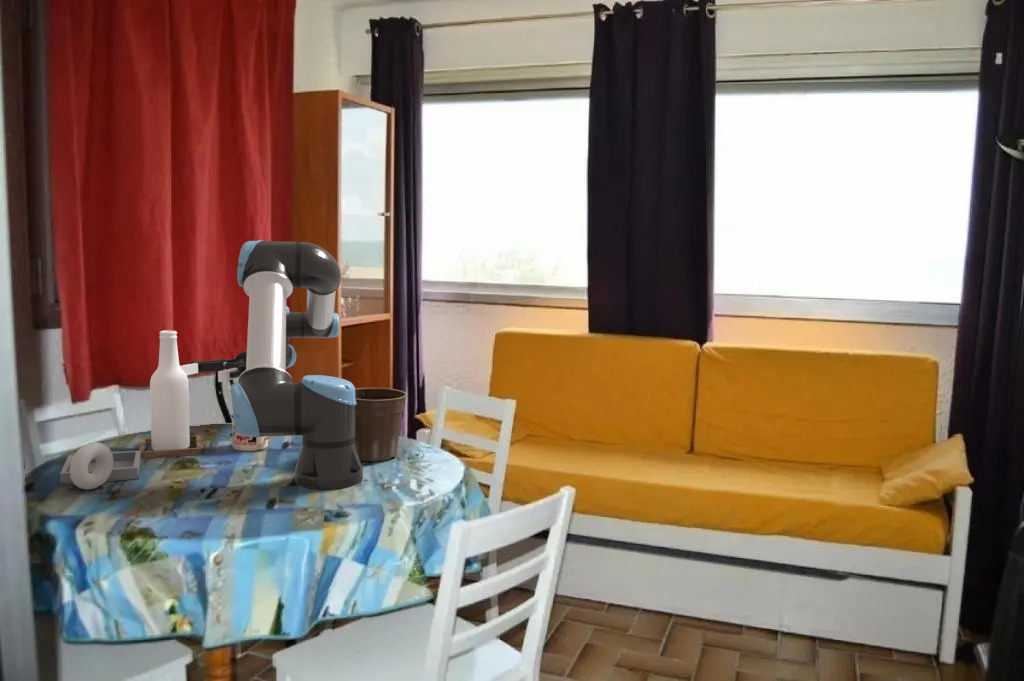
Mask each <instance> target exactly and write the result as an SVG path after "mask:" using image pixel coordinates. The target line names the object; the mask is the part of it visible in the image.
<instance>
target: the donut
mask: <svg viewBox="0 0 1024 681" xmlns="http://www.w3.org/2000/svg"><path fill="white" fill-rule="evenodd" d="M111 452H112V451H111V449H110V448H109V446H107V445H106V444H104V443H101V442H98V441H97V442H95V441H94V442H89V443H87V444H84V445H82V446H80V447H79V449H77V451H76V452H74V454H73V455H74V456H73V458H72V460H71V463H70V470H69V472H70V478H71V479H72V481H73V483H74V484H73V485H75V486H77V487H78V488H79V489H83V490H86V491H89V490H95V489H97V488H99V487H101V486H103V485H104V483H105V482H107V481H106V480H107V479H108V477H109V476H110V474H111V471H112V469H113V455H112V453H111ZM93 458H95V460H96V467H95V469H94V471H93V472H92V473H90V474H89V472H88V465H89V463H90V461H91V460H92V459H93Z"/></svg>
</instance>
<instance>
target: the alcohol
mask: <svg viewBox="0 0 1024 681" xmlns="http://www.w3.org/2000/svg"><path fill="white" fill-rule="evenodd" d="M177 334H178V332H177V331H176V330H171V329H170V330H169V329H168V330H161V331H159V354H158V365H157V368H156V369H155V371H154V372H153V373H152V374H151V377H150V382H149V397H150V431H151V433H150V434H151V437H150V438H151V439H152V445H151V449H152V451H158V450H173V449H187V448H190V444H191V442H190V436H191V435H190V390H189V377H188V375H186V373H185V372H184V371H183V370H182V369H181V367H180V366H181V365H180V359H179V351H178V341H177V338H178V336H177Z"/></svg>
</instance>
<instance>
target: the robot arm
mask: <svg viewBox="0 0 1024 681" xmlns="http://www.w3.org/2000/svg"><path fill="white" fill-rule="evenodd" d="M239 252H240V253H239V256H238V260H237V261H238V266H237V284H238V286H239V287H241V288H243V292H244V293H245V295H247V296H248V297H249V302H248V303H249V304H248V322H247V324H248V325H247V338H246V339H247V340H246V350H244V351H241V352H239V353H238V354H237V355H236V357H234V358H230V359H228V358H227V359H226V358H219V359H209V360H193V361H190V363H188V364H182V365H180V367H181V369H182V370H183V371H184V372H185V373H186V375H187V376H190V375H194V376H196V375H197V374H199V373H203V372H207V373H208V372H217V378H218V379H217V382H218V383H223V382H227V381H231V380H232V381H233V380H238V381H237V382H235V383H232V384H231V385H230V395H231V396H230V398H231V404H232V413H233V415H234V423H235V430H236V432H237V434H238V435H240V436H243V437H256V438H258V437H264V436H268V437H271V436H275V437H287V436H288V437H289V436H291V437H292V436H302V438H301V439H302V440H301V441H302V443H301V444H302V445H301V450H300V454H299V455H298V459H297V462H296V465H295V468H294V471H293V472H294V473H293V474H294V476H293V477H294V478H293V480H294V482H295V484H296V485H298V486H300V487H304V488H309V489H316V490H330V489H332V490H333V489H341V488H342V489H343V488H346V487H351V486H353V485H358V483H360V482H361V481H362V480H363V478H364V475H363V474H364V471H363V470H364V469H363V468H364V467H363V465H362V461H361V460H360V458H359V455H358V452H357V449H356V446H355V405H356V399H355V389H356V387H355V385H354V384H353V383H352V382H351V381H349V380H347V379H344V378H342V377H335V376H330V375H322V374H320V375H319V374H314V375H312V374H310V375H309V374H308V375H304V376H303V377H302V379H301V380H300V381H301V382H293V378H292V376H291V374H290V373H289V372H287V371H286V370H287V369H288V368H291V367H293V366H294V365H295V363H296V361H297V353H296V350H295V348H294V346H292V345H291V344H290V338H291V339H292V338H293V339H295V338H301V339H303V338H305V339H306V338H313V339H319V338H320V339H329V338H330V339H331V338H337V337H338V336H340V335H339V334H340V316H339V314H338V313H337V312H335V303H336V291H337V290H338V289H339V287H340V285H341V282H342V272H341V269H340V265H339V264H338V261H336V259H335V258H334V257H333V255H332V254H330V253H329V252H328V251H327V249H325V248H323V247H321V246H320V245H317V244H314V243H311V242H306V241H305V242H303V241H301V242H299V241H298V242H297V241H279V240H278V241H275V240H272V241H271V240H263V239H261V240H260V239H259V240H249V241H245V242H244V243H243V244H242V246H241V248H240V250H239ZM293 289H306V295H307V296H306V298H307V299H306V312H299V311H297V312H294V311H290V308H289V307H288V306H287V299H288V298H289V297H290V296H291V295H292V293H293Z"/></svg>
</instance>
